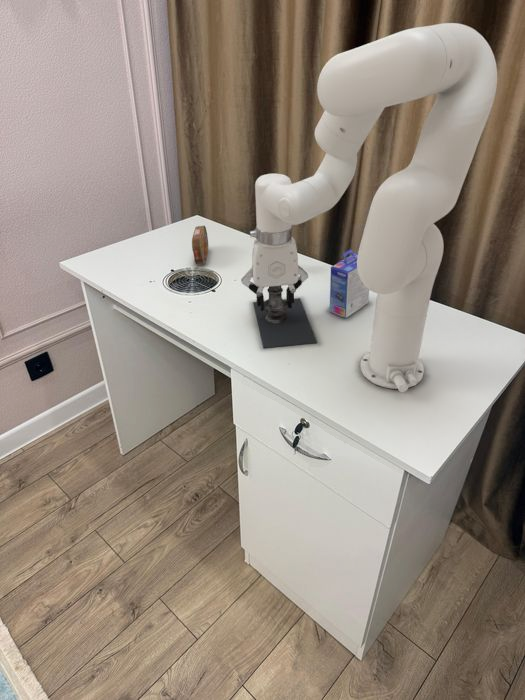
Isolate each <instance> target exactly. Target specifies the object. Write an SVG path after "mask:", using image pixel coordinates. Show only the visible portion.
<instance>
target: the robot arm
mask: <svg viewBox="0 0 525 700" xmlns="http://www.w3.org/2000/svg"><path fill="white" fill-rule="evenodd" d="M497 86H498V67H497V62H496V58H495V55H494V52H493V50H492V48H491V46H490V44H489V42H488V41H487V40H486V39H485V38H484V36H483V35H482V34H481V33H479V32H478V31H477V30H476V29H474V28H473V27H471V26H468V25H466V24H462V23H456V22H446V23H445V22H444V23H438V24H437V23H436V24H431V25H427V26H425V25H424V26H418V27H412V28H408V29H404V30H401V31H398V32H395V33H392V34H390V35H386V36H385V37H382V38H379V39H377V40H374V41H371V42H369V43H366V44H363V45H361V46H358V47H355V48H352V49H349V50H346V51H343V52H340V53H337V54H336V55H334V56H332V57H331V58H330V59H329V60H328V61H327V62H326V63H325V65H324V66H323V67H322V69H321V71H320V73H319V77H318V79H317V85H316V93H317V98H318V101H319V104H320V106H321V107H322V109H323V110H324V111H323V113H322V115H321V117H320V119H319V121H318V123H317V125H316V126H315V129H314V139H315V141H316V144H317V145H318V146H319V148H320V149H321V150H322V151H323V152H325V155H324V157H323V159H322V161H321V163H320V165H319V166H318V168H317V170H316V171H315V173H314V174H313V175H311V176H309V177H307V178H305V179H302V180H299V181H297V182H293V183H292V180H291V178H290V177H289V176H287V175H286V174H282V173H267V174H263V175H260V176H258V178H257V179H256V181H255V184H254V190H255V191H254V192H255V193H254V194H255V195H254V196H255V218H256V221H255V222H256V226H255V229H253V230H250V231H249V235H250V238H255V239H254V241H253V245H252V246H253V247H252V253H251V255H252V257H251V268H250V269H249V270H248V271H247V272H246V273H245V275H244V276H242V278H241V279H240V281H241V285H244V286H245V287H246V288H248V289H249V290H250V291H251V292H252V293H254V294H255V296H256V302H257V306H260V309H261V311H263V310H264V301H265V296H264V293H263V291H264V289H265V288H269V287H271V286H281V287H283V286H287V288H286V289H285V290H286V296H285V297H286V302H287V303H288V308H292V303H294V299H295V293H296V291H297V289H299V288H300V287H301V286H302V285H303V283H304V282H306V281H307V279H308V278H309V274H308V272H307V271H306V270H305V269H304V268H302V267H301V266H300V265H299V256H298V246H297V242H296V240H295V238H294V237H293V236H292V234H293V233H292V231H293V226H297V225H298V226H299V225H301V224H303V223H306V222H308V221H310V220H312V219H314V218H316V217H317V216H319V215H322V214H324V213H326V212H329V211H330V210H331V209H332V208H334V207H335V206H336V205H337V204H338V202H339V201H340V200H341V199H342V196H343V195H344V194H345V192H346V190H347V189H348V188H349V186H350V184H351V183H352V181H353V178H354V177H355V174H356V170H357V165H358V163H357V162H358V153H359V151H360V150H361V148H362V146H363V144H364V142H365V141H366V139H367V138H368V135H369V134H370V132H371V131H372V129H373V128H374V126H375V125H376V122H377V121H378V120H379V118H380V116H381V115H382V114H383V111H384V110H385V108H387V107H391V106H395V105H399V104H404V103H408V102H413V101H416V100H419V99H423V98H426V97H429V96H432V95H436V96H435V100H434V103H433V106H432V107H431V109H430V111H429V113H428V115H427V117H426V119H425V120H424V122H423V126H422V128H421V131H420V134H419V137H418V142H417V145H416V147H415V150H414V153H413V157H412V159H411V161H410V163H409V164H408V166H406V167H405V168H403V169H402V170H400V171H397V172H395V173H393V174H391V175H390V176H389V177H387V178H386V179H385V180H384V181H383V182H382V183H381V184H380V186H379V187H378V189H377V190H376V192H375V194H374V195H373V198H372V201H371V204H370V206H369V210H368V214H367V218H366V221H365V225H364V229H363V232H362V235H361V236H362V237H361V240H360V243H359V248H358V251H357V254H358V256H357V270H358V274H359V277H360V279H361V281H362V283H363V284H364V285H365V287H367V288H368V289H369V292H372V293H375V294H376V301H375V309H374V316H373V324H372V333H371V341H370V350H369V352H367V353H365V355H364V356H363V357H362V359H361V361H360V371H361V373H362V374H363V377H365V378H366V379H367V380H368V381H370V383H372V384H374V385H377V386H379V387H382V388H387V389H394V390H398V392H400V393H405V392H407V391H408V390H409V388H411V387H414V386H416V385H417V384H419V383H420V382H421V381H422V380H423V378H424V373H425V366H424V365H423V363H422V361H421V360H420V359H419V357H420V352H421V347H422V342H423V336H424V331H425V325H426V321H427V317H428V316H427V315H428V311H429V306H430V300H431V297H432V291H433V287H434V284H435V280H436V277H437V275H438V273H439V269H440V266H441V263H442V259H443V255H444V238H443V235H442V233H441V230H440V229H439V228H438V226H437V225H436V224H435V223H436V222H438V221H440V220H441V219H442V218H444V217H446V215H448V214H449V213H450V212H451V211H452V210H453V209H454V207H455V206H456V203H457V201H458V199H459V196H460V194H461V190H462V188H463V185H464V184H465V183H464V182H465V179H466V177H467V175H468V172H469V170H470V167H471V165H472V161H473V159H474V156H475V153H476V150H477V147H478V145H479V142H480V139H481V137H482V134H483V132H484V129H485V127H486V124H487V122H488V119H489V116H490V114H491V110H492V107H493V104H494V101H495V97H496V94H497V93H496V92H497V88H498V87H497ZM251 279H252V280H253V281H251Z"/></svg>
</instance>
